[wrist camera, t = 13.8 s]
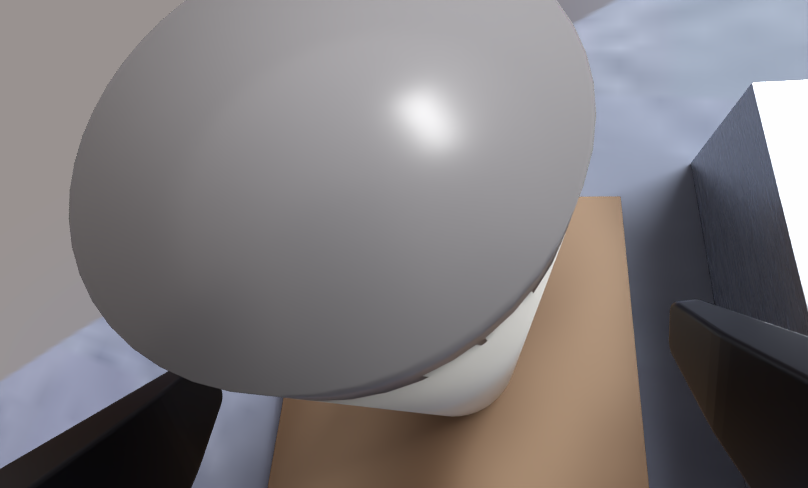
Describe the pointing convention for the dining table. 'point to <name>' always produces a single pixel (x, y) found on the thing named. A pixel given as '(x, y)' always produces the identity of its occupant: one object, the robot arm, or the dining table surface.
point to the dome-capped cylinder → (336, 194)
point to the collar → (759, 205)
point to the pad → (506, 398)
